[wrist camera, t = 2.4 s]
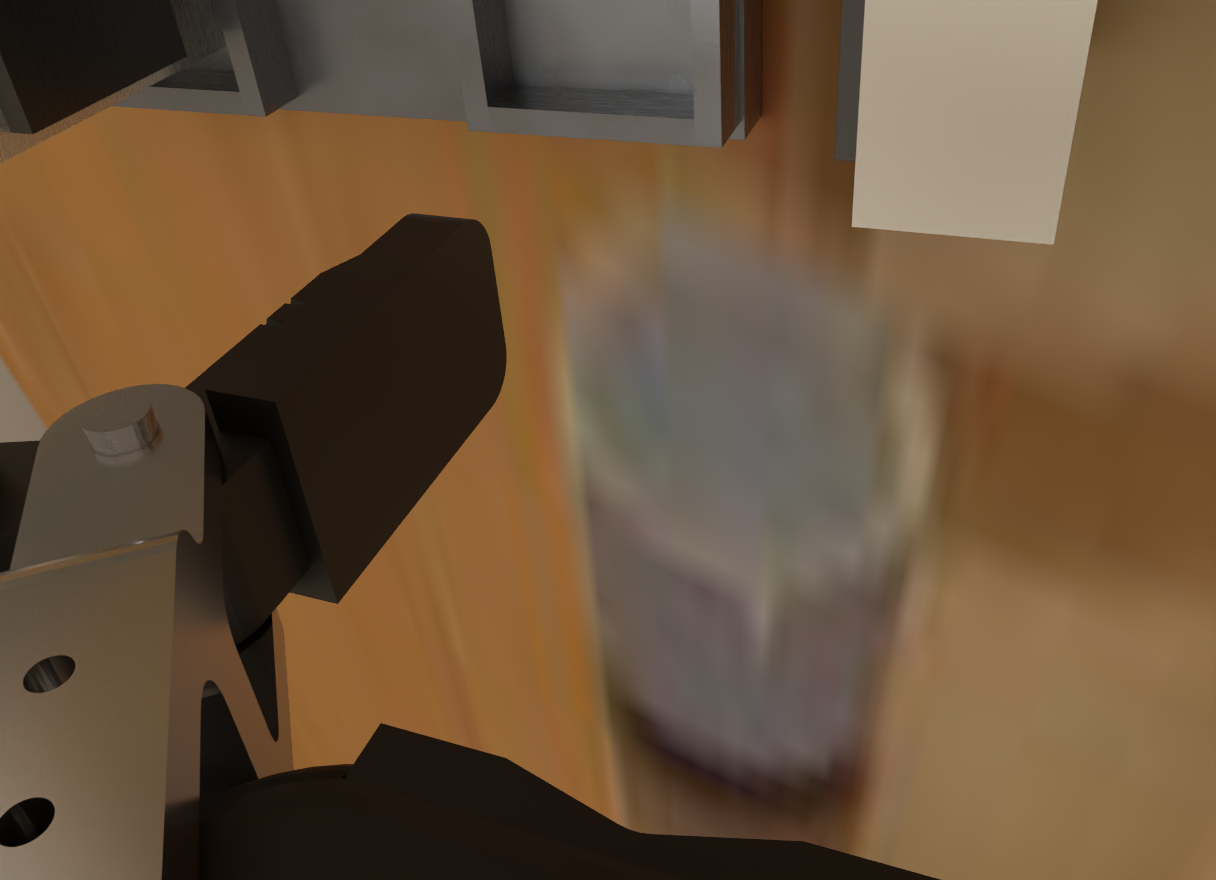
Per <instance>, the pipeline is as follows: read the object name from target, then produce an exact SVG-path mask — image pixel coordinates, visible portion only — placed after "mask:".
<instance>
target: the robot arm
mask: <svg viewBox="0 0 1216 880" xmlns="http://www.w3.org/2000/svg"><path fill="white" fill-rule="evenodd" d="M505 370H506V344H505V337H504V330H503V324H502V317H501V311H500V304H499V297H498V291H497V284H496V277H495V271H494V264H493V257H492V251H491V245H490V240H489V237H488V234H487V232H486V230H485V228H484V226H483V225H482V224H481V223H480V222H479V221H477V220H473V219H463V218H453V217H443V216H433V215H424V214H409V215H406V216H405V217H403V218H402V219H401V220H400V221H399V222H397V223H396V224H395V225H394V226H393V227H392V228H391V229H389V230H388V231H387V232H386V233H385V234H384V235H382V236H381V237H380V238H379V239H378V240H377V241H375V242H374V243H373V244H372V245H371V246H370V247H369V248H367V249H366V250H365V251H364V252H363V253H362V254H360V255H358V256H356V257H354V258H352V259H350V260H348V261H346V262H344V263H341V264H339V265H337V266H335V267H333V268H331V269H329V270H327V271H325V272H323V273H321V274H319V275H318V276H317V277H316V278H315V279H313V280H312V281H311V282H310V283H309V284H307V285H306V286H305V287H304V288H303V289H302V290H300V291H299V292H298V293H297V294H296V295H294V296H293V297H292V298H291V304H284V305H283V306H281V307H280V308H279V309H278V310H277V311H276V312H274V313H273V314H272V315H271V316H270V317H268V318H267V323H266V325H261V324H260V325H259V326H258V327H257V328H255V329H254V330H253V331H252V332H251V333H250V334H248V335H247V336H246V337H245V338H244V339H242V340H241V341H240V342H239V343H238V344H237V345H235V346H234V347H233V348H232V349H231V350H229V351H228V352H227V353H226V354H225V355H223V356H222V357H221V358H220V359H219V360H218V361H216V362H215V363H214V364H213V365H212V366H210V367H209V368H208V369H207V370H206V371H205V372H203V373H202V374H201V375H200V376H199V377H197V378H196V379H195V380H194V381H193V382H192V383H190V384H189V385H188V386H187V387H186V388H182V387H179V386H173V385H166V384H151V385H139V386H133V387H127V388H123V389H119V390H115V391H112V392H109V393H106V394H103V395H100V396H98V397H95V398H93V399H91V400H88V401H86V402H84V403H82V404H80V405H78V406H77V407H75V408H73V409H72V410H70V411H69V412H67V413H65V414H64V415H63V416H61V417H60V418H59V419H58V420H57V421H55V422H54V423H53V424H52V425H51V426H50V427H49V428H48V429H47V431H46V432H45V433H44V435H43V437H42V438H41V440H40V441H25V442H5V443H0V880H940V879H936V878H932V877H929V876H925V875H922V874H918V873H915V872H911V871H907V870H904V869H900V868H897V867H893V866H890V865H886V864H882V863H879V862H875V861H872V860H868V859H865V858H861V857H857V856H854V855H850V854H847V853H843V852H839V851H836V850H832V849H829V848H825V847H822V846H818V845H814V844H811V843H807V842H804V841H783V840H762V839H741V838H720V837H699V836H678V835H657V834H646V833H639V832H635V831H632V830H629V829H627V828H625V827H623V826H621V825H619V824H617V823H615V822H613V821H612V820H610V819H608V818H607V817H605V816H603V815H602V814H600V813H598V812H597V811H595V810H593V809H591V808H590V807H588V806H586V805H585V804H583V803H581V802H580V801H578V800H576V799H574V798H573V797H571V796H569V795H568V794H566V793H564V792H563V791H561V790H559V789H557V788H556V787H554V786H552V785H551V784H549V783H547V782H546V781H544V780H542V779H540V778H539V777H537V776H535V775H534V774H532V773H530V772H529V771H527V770H525V769H523V768H522V767H520V766H518V765H517V764H515V763H513V762H512V761H510V760H508V759H506V758H503V757H500V756H496V755H493V754H489V753H485V752H482V751H478V750H475V749H471V748H468V747H464V746H460V745H457V744H453V743H450V742H446V741H443V740H439V739H435V738H432V737H428V736H425V735H421V734H418V733H414V732H410V731H407V730H403V729H400V728H396V727H392V726H389V725H385V724H382V723H381V724H380V725H379V727H378V728H377V730H376V731H375V733H374V734H373V736H372V737H371V739H370V740H369V742H368V743H367V745H366V746H365V748H364V749H363V751H362V752H361V754H360V755H359V757H358V758H357V760H356V761H355V763H354V764H341V765H329V766H317V767H309V768H304V769H298V770H294V768H293V755H292V740H291V726H290V712H289V698H288V684H287V670H286V656H285V641H284V631H283V626H282V623H281V620H280V617H279V614H278V611H277V609H276V607H277V606H278V605H279V604H280V603H281V602H282V600H283V599H284V598H285V597H286V596H287V594H288V593H289V592H290V593H295V594H299V595H303V596H307V597H311V598H315V599H319V600H324V601H328V602H332V603H336V604H338V603H339V602H340V600H341V599H342V598H343V596H344V595H345V594H346V593H347V591H348V590H349V589H350V587H351V586H352V585H353V584H354V582H355V581H356V580H357V579H358V577H359V576H360V575H361V573H362V572H363V571H364V570H365V568H366V567H367V566H368V564H369V563H370V562H371V561H372V559H373V558H374V557H375V556H376V554H377V553H378V552H379V550H380V549H381V548H382V547H383V545H384V544H385V543H386V541H387V540H388V539H389V538H390V536H391V535H392V534H393V533H394V531H395V530H396V529H397V527H398V526H399V525H400V524H401V522H402V521H403V520H404V518H405V517H406V516H407V515H408V513H409V512H410V511H411V510H412V508H413V507H414V506H415V504H416V503H417V502H418V501H419V499H420V498H421V497H422V495H423V494H424V493H425V492H426V490H427V489H428V488H429V487H430V485H431V484H432V483H433V481H434V480H435V479H436V478H437V476H438V475H439V474H440V472H441V471H442V470H443V469H444V467H445V466H446V465H447V464H448V462H449V461H450V460H451V458H452V457H453V456H454V455H455V453H456V452H457V451H458V449H459V448H460V447H461V446H462V444H463V443H464V442H465V441H466V439H467V438H468V437H469V435H470V434H471V433H472V432H473V430H474V429H475V428H476V426H477V425H478V424H479V423H480V421H481V420H482V419H483V417H484V416H485V415H486V414H487V412H488V411H489V410H490V409H491V407H492V406H493V404H494V403H495V402H496V400H497V398H498V396H499V393H500V391H501V388H502V385H503V381H504V376H505Z"/></svg>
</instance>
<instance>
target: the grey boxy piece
mask: <svg viewBox="0 0 1216 880" xmlns="http://www.w3.org/2000/svg"><path fill="white" fill-rule="evenodd" d="M761 45H762V0H0V163H2V162H4V161H6V160H8V159H10V158H12V157H14V156H16V155H17V154H19V153H21V152H23V151H25V150H27V149H29V148H31V147H33V146H35V145H37V144H39V143H41V142H43V141H45V140H47V139H48V138H50V137H52V136H54V135H56V134H58V133H60V132H62V131H64V130H66V129H68V128H70V127H72V126H74V125H76V124H77V123H79V122H81V121H83V120H85V119H87V118H89V117H91V116H93V115H95V114H97V113H99V112H101V111H103V110H105V109H107V108H108V107H110V106H118V107H132V108H147V109H162V110H176V111H191V112H205V113H220V114H235V115H249V116H264V117H266V116H268V115H269V114H271V113H273V112H274V111H276V110H277V109H283V110H298V111H313V112H329V113H344V114H359V115H374V116H390V117H405V118H420V119H436V120H451V121H466V122H467V123H468V129H469V131H483V132H498V133H512V134H527V135H541V136H556V137H571V138H585V139H600V140H614V141H629V142H644V143H658V144H673V145H688V146H702V147H717V148H722V147H723V145H724V144H725V143H726V141H727V140H728V139H741V140H745V138H746V137H747V136H748V134H749V133H750V131H751V130H752V128H753V127H754V126H755V124H756V123H757V121H758V120H759V118H760V117H761Z"/></svg>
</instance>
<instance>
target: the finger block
mask: <svg viewBox="0 0 1216 880" xmlns="http://www.w3.org/2000/svg"><path fill="white" fill-rule="evenodd" d="M1097 1H1098V0H842V13H841V34H840V56H839V77H838V98H837V119H836V141H835V160H844V161H856V163H855V180H854V197H853V214H852V227H862V228H873V229H884V230H895V231H906V232H917V233H928V234H940V235H951V236H962V237H973V238H984V239H995V240H1007V241H1018V242H1029V243H1040V244H1051V245H1054V239H1055V234H1056V228H1057V223H1058V217H1059V211H1060V206H1061V200H1062V195H1063V189H1064V184H1065V178H1066V173H1067V167H1068V162H1069V156H1070V151H1071V145H1072V140H1073V134H1074V129H1075V123H1076V118H1077V112H1078V106H1079V101H1080V95H1081V90H1082V84H1083V79H1084V73H1085V68H1086V62H1087V57H1088V51H1089V46H1090V40H1091V35H1092V29H1093V24H1094V18H1095V12H1096V7H1097Z"/></svg>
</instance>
